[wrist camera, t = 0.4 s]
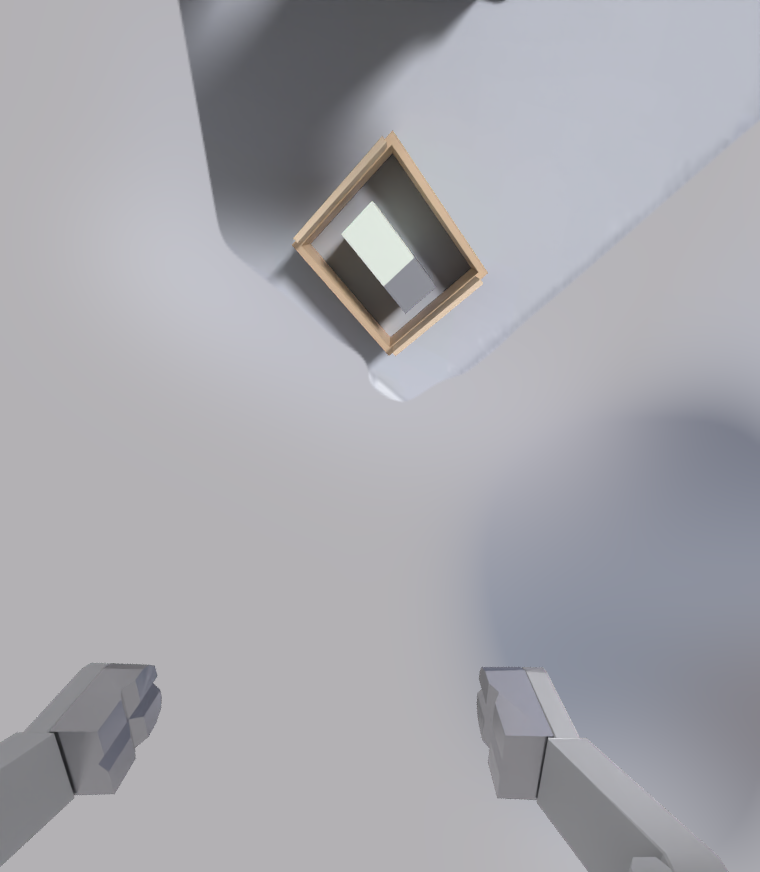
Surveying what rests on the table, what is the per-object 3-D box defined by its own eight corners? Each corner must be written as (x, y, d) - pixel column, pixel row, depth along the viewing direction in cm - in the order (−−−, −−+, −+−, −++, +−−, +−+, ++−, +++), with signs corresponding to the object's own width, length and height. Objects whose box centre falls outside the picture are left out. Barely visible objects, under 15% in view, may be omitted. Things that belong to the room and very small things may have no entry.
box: (376, 204, 44) (371, 200, 37) (430, 278, 47) (435, 287, 41) (350, 232, 45) (341, 234, 38) (404, 301, 49) (405, 313, 42)
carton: (393, 140, 40) (392, 122, 33) (479, 268, 47) (493, 276, 40) (301, 243, 46) (284, 246, 39) (389, 345, 52) (388, 363, 45)
